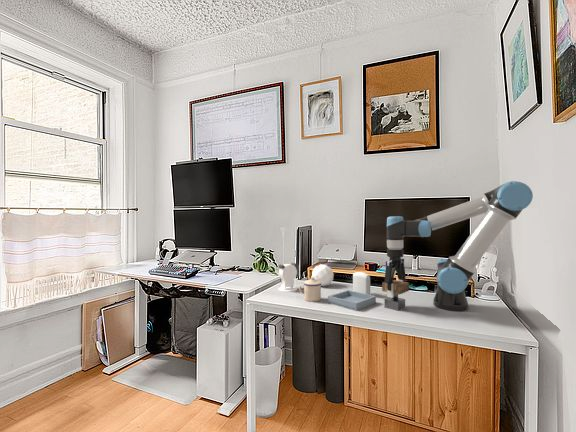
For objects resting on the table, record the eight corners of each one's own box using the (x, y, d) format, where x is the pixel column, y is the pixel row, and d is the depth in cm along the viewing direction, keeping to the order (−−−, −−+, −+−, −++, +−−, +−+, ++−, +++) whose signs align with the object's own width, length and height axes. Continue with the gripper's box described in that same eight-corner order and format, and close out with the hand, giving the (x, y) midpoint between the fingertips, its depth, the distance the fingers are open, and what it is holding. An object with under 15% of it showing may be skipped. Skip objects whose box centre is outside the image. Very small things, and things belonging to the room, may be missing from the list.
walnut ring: (408, 290, 152) (408, 282, 152) (399, 294, 146) (399, 285, 146) (388, 287, 159) (388, 279, 159) (379, 290, 153) (379, 282, 153)
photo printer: (351, 293, 178) (351, 271, 178) (356, 291, 181) (356, 270, 180) (366, 297, 170) (366, 274, 170) (371, 295, 173) (371, 273, 172)
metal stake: (405, 307, 152) (405, 286, 152) (398, 310, 147) (398, 289, 147) (391, 304, 157) (391, 284, 157) (384, 307, 152) (384, 286, 152)
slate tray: (375, 303, 159) (375, 296, 159) (356, 310, 148) (356, 303, 147) (347, 296, 172) (347, 289, 171) (328, 303, 160) (328, 296, 160)
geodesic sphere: (321, 281, 183) (329, 260, 189) (303, 277, 193) (311, 258, 198) (332, 292, 192) (340, 272, 197) (315, 288, 201) (323, 269, 207)
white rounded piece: (289, 285, 196) (289, 261, 195) (302, 289, 187) (301, 264, 186) (274, 288, 188) (274, 263, 188) (286, 292, 179) (286, 266, 179)
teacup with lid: (323, 298, 168) (323, 276, 168) (317, 302, 160) (317, 280, 160) (302, 295, 173) (302, 274, 173) (296, 300, 165) (296, 277, 165)
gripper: (398, 245, 162) (398, 289, 162) (376, 250, 147) (376, 298, 147) (412, 246, 156) (413, 292, 157) (391, 251, 141) (391, 301, 142)
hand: (395, 295), depth 152 cm, fingers closed on walnut ring, 9 cm apart
